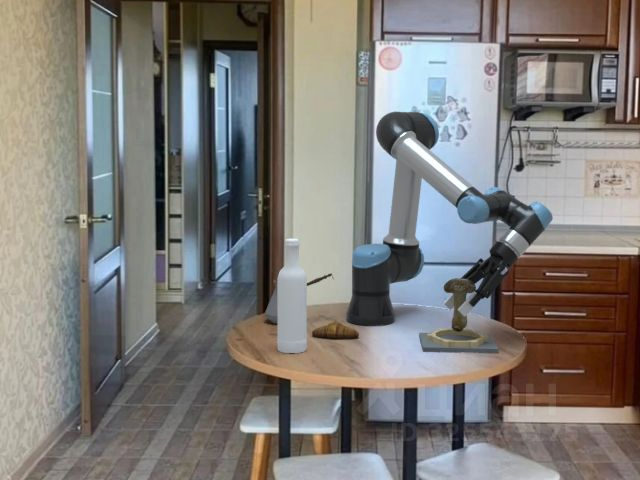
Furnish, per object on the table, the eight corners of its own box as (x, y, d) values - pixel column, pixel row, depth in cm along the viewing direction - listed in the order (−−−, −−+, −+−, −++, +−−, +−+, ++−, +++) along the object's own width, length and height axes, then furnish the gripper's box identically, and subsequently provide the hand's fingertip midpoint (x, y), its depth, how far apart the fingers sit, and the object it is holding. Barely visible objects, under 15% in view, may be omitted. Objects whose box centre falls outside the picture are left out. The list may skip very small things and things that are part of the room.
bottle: (303, 354, 206) (304, 241, 202) (274, 353, 208) (274, 240, 204) (309, 346, 214) (309, 237, 210) (280, 345, 215) (280, 236, 212)
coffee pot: (265, 326, 237) (265, 277, 235) (264, 317, 248) (264, 271, 246) (335, 325, 239) (336, 276, 237) (331, 316, 250) (331, 270, 248)
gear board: (422, 351, 210) (423, 341, 209) (419, 336, 226) (419, 327, 225) (498, 353, 208) (498, 343, 208) (489, 338, 224) (489, 328, 224)
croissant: (359, 336, 227) (359, 319, 227) (358, 342, 221) (358, 324, 220) (313, 334, 229) (313, 317, 228) (310, 340, 222) (310, 323, 221)
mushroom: (452, 337, 210) (454, 282, 208) (435, 329, 218) (437, 276, 216) (482, 333, 214) (484, 279, 212) (464, 325, 222) (466, 273, 220)
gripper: (536, 264, 209) (480, 327, 206) (497, 253, 228) (446, 310, 226) (519, 245, 206) (462, 308, 204) (482, 235, 226) (429, 293, 224)
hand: (454, 309), depth 215 cm, fingers closed on mushroom, 8 cm apart
